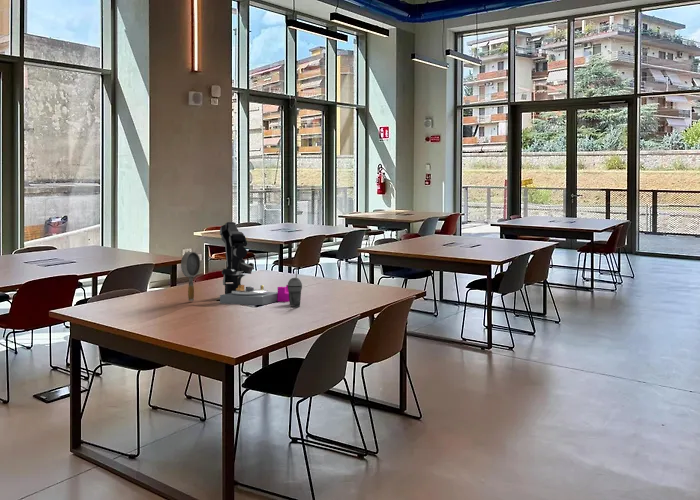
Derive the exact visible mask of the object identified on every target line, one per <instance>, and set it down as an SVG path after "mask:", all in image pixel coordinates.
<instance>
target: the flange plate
mask: <svg viewBox="0 0 700 500" xmlns="http://www.w3.org/2000/svg"><path fill="white" fill-rule="evenodd" d="M268 292H269V291H268V290H266V289H264V290H261V288H260V289H257V288H256V289H255V288H254V286H245V284H241V285H239V286H238V288H236V290H233V291H232V294H235V295H262V294H267V293H268Z"/></svg>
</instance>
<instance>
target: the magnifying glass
mask: <svg viewBox="0 0 700 500" xmlns="http://www.w3.org/2000/svg"><path fill="white" fill-rule="evenodd" d="M180 261H181V262H180V269H181V272H182V274H183V276H185V277H187V278H188V287H187V289H188V290H187V296H188V297H187V299H188V301H189V302H190V301H191V302H193V301H195V299H194V298H195V288H194V280H193V279H194V277H196V276H197V275H198V274H199V273H200V269H201V259H200V256H199V254H198V253H197V252H196V251H186V252H185V253H184V254H183V255H182V256H181V260H180Z"/></svg>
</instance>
